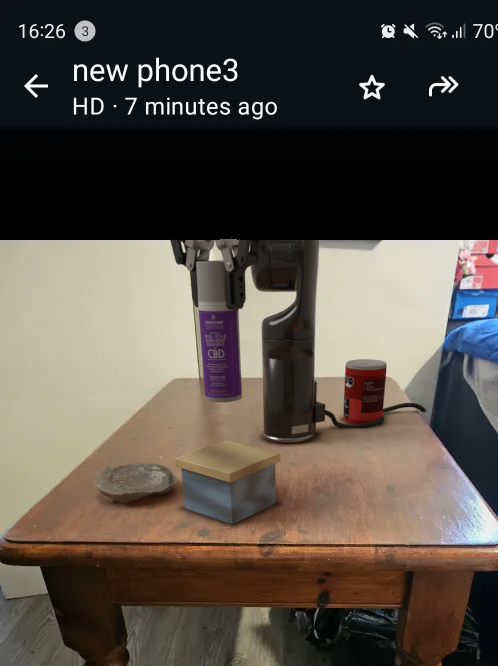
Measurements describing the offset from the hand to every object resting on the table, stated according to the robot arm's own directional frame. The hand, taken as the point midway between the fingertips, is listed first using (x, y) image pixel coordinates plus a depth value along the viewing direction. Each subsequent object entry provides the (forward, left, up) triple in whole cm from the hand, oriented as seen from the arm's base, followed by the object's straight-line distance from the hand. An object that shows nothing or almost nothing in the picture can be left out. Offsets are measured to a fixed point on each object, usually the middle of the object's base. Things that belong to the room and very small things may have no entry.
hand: (218, 307), depth 68 cm
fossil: (+5, -14, -25) cm, 29 cm away
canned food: (-49, -9, -25) cm, 56 cm away
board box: (0, 0, -25) cm, 25 cm away
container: (0, 0, -11) cm, 11 cm away
